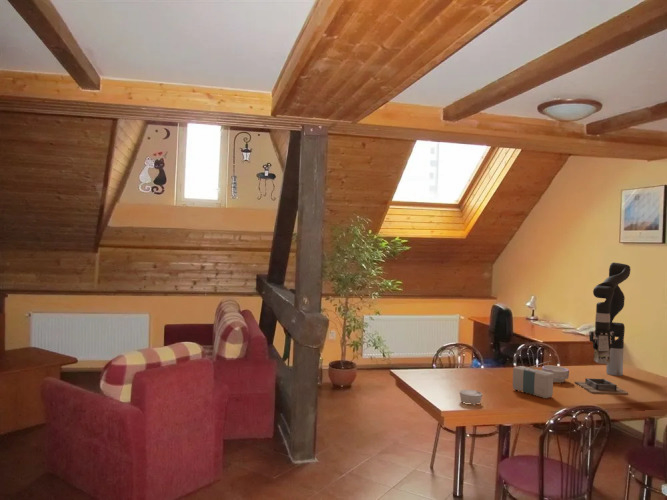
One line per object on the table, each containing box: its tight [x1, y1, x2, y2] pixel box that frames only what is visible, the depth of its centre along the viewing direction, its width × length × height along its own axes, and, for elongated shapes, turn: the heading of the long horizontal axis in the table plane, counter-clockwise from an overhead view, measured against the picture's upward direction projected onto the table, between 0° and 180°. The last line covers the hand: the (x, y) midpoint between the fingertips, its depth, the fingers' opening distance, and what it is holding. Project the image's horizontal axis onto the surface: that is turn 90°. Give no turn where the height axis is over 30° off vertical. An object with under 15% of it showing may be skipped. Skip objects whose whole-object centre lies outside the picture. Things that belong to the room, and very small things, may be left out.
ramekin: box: [459, 389, 483, 404], centre depth 274 cm, size 11×11×5 cm
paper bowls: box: [541, 365, 570, 384], centre depth 323 cm, size 15×15×8 cm
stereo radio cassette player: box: [512, 360, 554, 399], centre depth 293 cm, size 21×8×20 cm, turn 36°
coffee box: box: [593, 334, 611, 365], centre depth 307 cm, size 9×6×16 cm
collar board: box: [574, 377, 629, 396], centre depth 308 cm, size 22×20×4 cm
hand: (601, 349), depth 308 cm, fingers closed on coffee box, 7 cm apart
